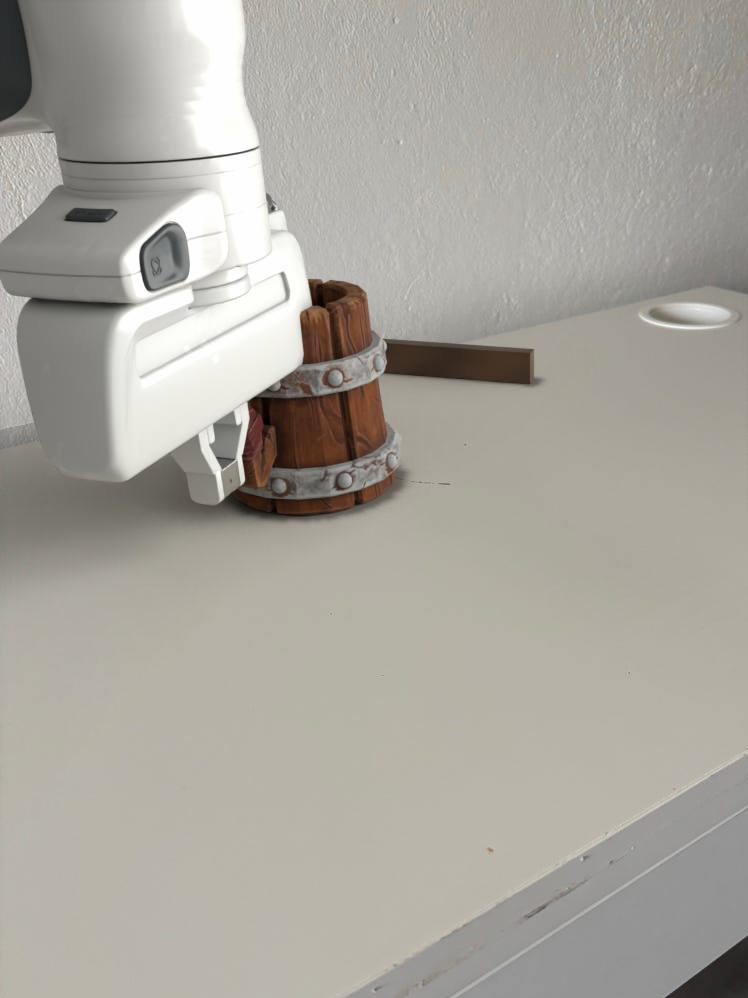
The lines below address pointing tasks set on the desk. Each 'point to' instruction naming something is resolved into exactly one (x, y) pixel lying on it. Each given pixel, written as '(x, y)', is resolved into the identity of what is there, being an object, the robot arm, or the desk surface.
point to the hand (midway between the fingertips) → (219, 494)
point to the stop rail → (460, 361)
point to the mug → (323, 415)
